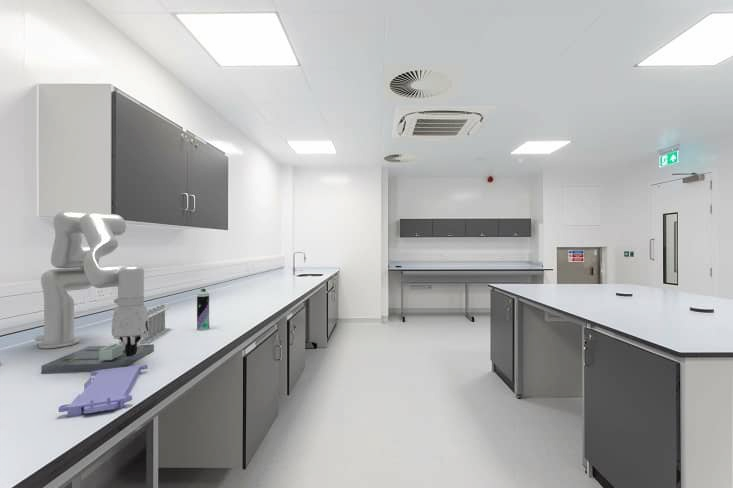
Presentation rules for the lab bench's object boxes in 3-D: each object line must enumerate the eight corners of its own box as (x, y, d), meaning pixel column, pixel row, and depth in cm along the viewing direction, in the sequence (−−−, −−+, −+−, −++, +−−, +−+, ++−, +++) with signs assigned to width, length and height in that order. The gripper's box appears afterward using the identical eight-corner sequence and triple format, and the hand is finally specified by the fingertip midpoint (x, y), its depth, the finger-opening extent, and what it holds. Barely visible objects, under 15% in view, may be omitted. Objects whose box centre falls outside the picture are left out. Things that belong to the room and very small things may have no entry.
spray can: (197, 330, 170) (197, 289, 170) (196, 328, 175) (196, 288, 175) (209, 329, 172) (209, 288, 173) (208, 327, 177) (208, 287, 177)
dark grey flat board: (41, 373, 114) (41, 365, 114) (88, 352, 135) (88, 346, 135) (120, 370, 116) (120, 362, 116) (154, 350, 138) (153, 344, 138)
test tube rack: (148, 343, 149) (148, 312, 149) (137, 344, 148) (137, 312, 148) (170, 329, 173) (170, 302, 173) (160, 330, 172) (160, 303, 172)
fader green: (99, 360, 118) (99, 349, 118) (110, 354, 124) (110, 344, 124) (112, 359, 118) (112, 348, 118) (122, 354, 124) (122, 343, 124)
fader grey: (119, 350, 129) (119, 340, 129) (128, 345, 135) (128, 336, 135) (130, 350, 129) (130, 340, 129) (139, 345, 135) (139, 335, 135)
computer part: (54, 423, 82) (129, 411, 88) (54, 405, 82) (129, 394, 88) (92, 379, 109) (148, 372, 116) (92, 365, 109) (148, 359, 116)
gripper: (100, 304, 117) (100, 359, 117) (148, 303, 118) (148, 358, 118) (114, 300, 124) (114, 352, 124) (159, 300, 126) (159, 351, 126)
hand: (131, 355), depth 121 cm, fingers closed
